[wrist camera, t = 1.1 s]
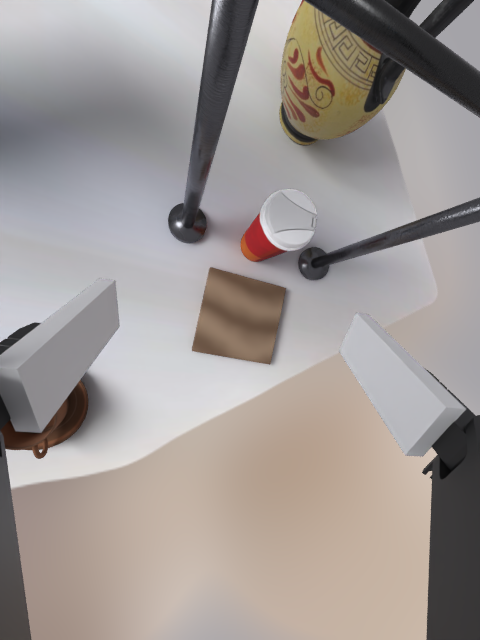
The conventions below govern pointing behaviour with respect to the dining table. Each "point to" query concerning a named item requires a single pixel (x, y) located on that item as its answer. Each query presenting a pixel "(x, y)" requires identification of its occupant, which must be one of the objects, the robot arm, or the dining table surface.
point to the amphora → (341, 72)
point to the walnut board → (238, 317)
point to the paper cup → (280, 226)
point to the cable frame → (376, 29)
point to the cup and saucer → (51, 426)
